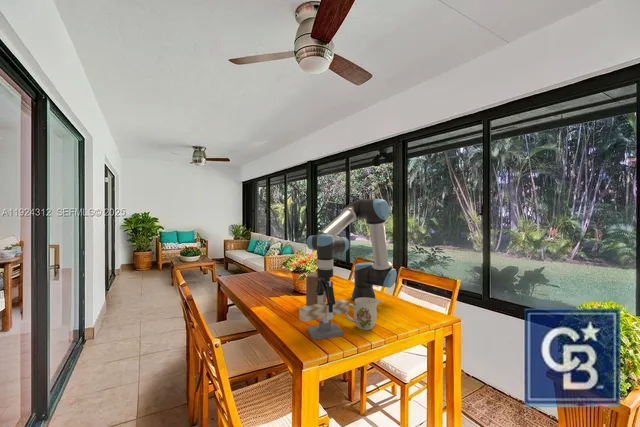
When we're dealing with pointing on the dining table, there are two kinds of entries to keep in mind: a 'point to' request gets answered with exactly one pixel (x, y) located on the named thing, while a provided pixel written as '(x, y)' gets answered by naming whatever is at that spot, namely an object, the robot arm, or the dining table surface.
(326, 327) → the fulcrum
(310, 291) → the wooden block
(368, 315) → the floral ceramic pitcher
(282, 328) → the dining table surface
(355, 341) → the dining table surface
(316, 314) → the batten
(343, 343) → the dining table surface
